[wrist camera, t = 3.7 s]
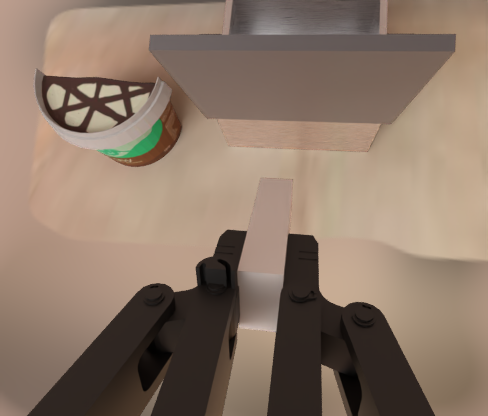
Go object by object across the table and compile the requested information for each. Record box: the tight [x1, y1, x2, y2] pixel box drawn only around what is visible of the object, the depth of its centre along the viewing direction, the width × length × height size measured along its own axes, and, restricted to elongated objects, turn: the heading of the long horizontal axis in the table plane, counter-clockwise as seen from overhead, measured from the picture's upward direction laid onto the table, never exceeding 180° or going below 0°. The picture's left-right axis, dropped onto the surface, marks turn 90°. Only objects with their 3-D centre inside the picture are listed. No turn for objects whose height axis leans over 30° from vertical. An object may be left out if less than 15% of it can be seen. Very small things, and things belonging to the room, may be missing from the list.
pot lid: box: [149, 34, 456, 124], centre depth 25 cm, size 15×12×1 cm
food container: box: [34, 68, 182, 167], centre depth 37 cm, size 12×6×10 cm, turn 81°
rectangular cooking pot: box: [199, 0, 388, 152], centre depth 37 cm, size 19×12×8 cm, turn 85°
